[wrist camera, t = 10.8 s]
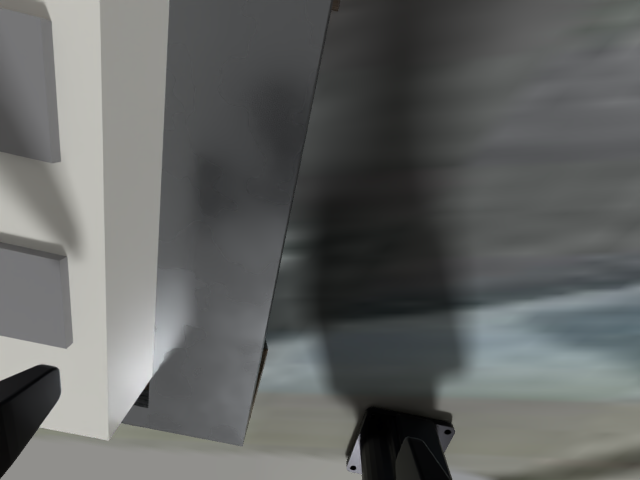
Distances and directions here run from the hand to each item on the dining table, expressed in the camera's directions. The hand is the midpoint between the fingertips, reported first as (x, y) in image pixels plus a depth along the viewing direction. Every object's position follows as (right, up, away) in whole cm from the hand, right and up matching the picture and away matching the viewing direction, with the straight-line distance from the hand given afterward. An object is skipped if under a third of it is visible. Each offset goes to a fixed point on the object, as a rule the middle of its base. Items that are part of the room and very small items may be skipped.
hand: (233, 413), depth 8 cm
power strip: (-6, +8, +6) cm, 12 cm away
